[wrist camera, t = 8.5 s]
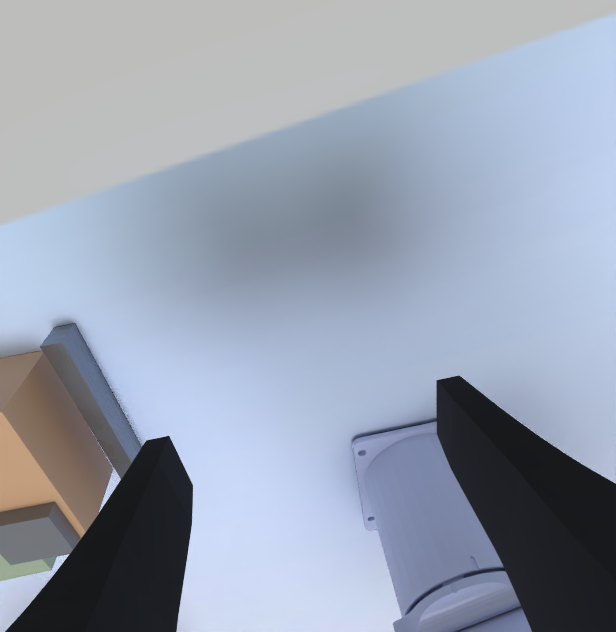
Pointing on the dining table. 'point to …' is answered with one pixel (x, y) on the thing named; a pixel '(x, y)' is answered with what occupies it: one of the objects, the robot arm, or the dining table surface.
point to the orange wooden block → (44, 463)
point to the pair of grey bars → (91, 395)
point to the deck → (24, 568)
